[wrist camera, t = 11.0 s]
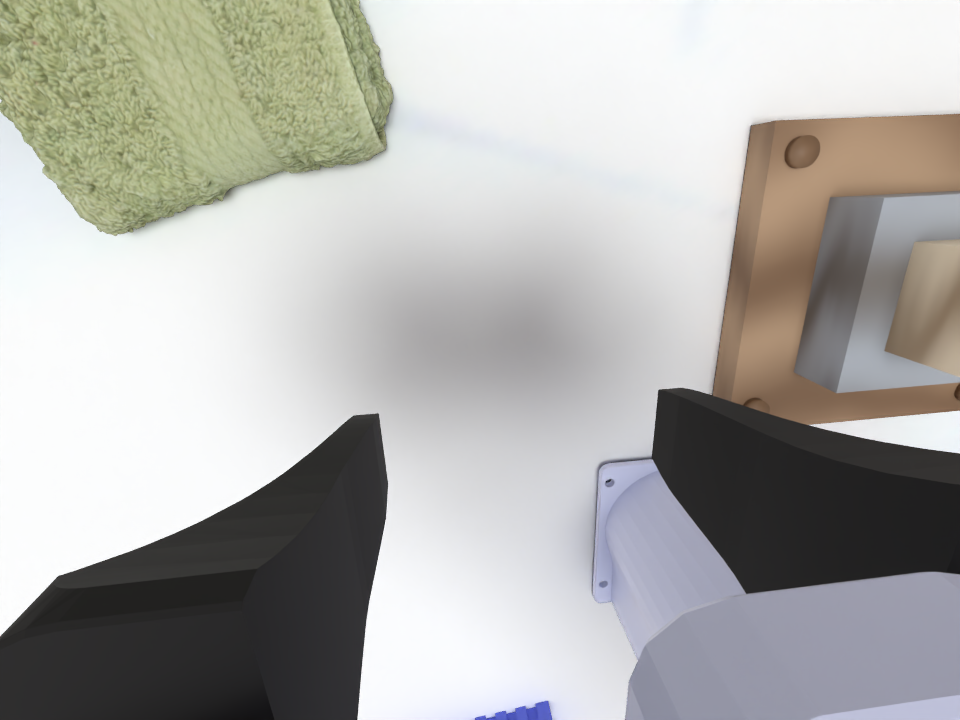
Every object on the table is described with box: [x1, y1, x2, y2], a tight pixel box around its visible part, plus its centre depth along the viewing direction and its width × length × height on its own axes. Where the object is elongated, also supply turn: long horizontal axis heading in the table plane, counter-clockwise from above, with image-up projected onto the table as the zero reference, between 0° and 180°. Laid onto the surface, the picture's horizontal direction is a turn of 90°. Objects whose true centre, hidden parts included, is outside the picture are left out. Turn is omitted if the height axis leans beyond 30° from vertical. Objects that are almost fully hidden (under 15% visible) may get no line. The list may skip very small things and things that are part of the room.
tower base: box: [712, 114, 960, 425], centre depth 21 cm, size 14×14×4 cm
